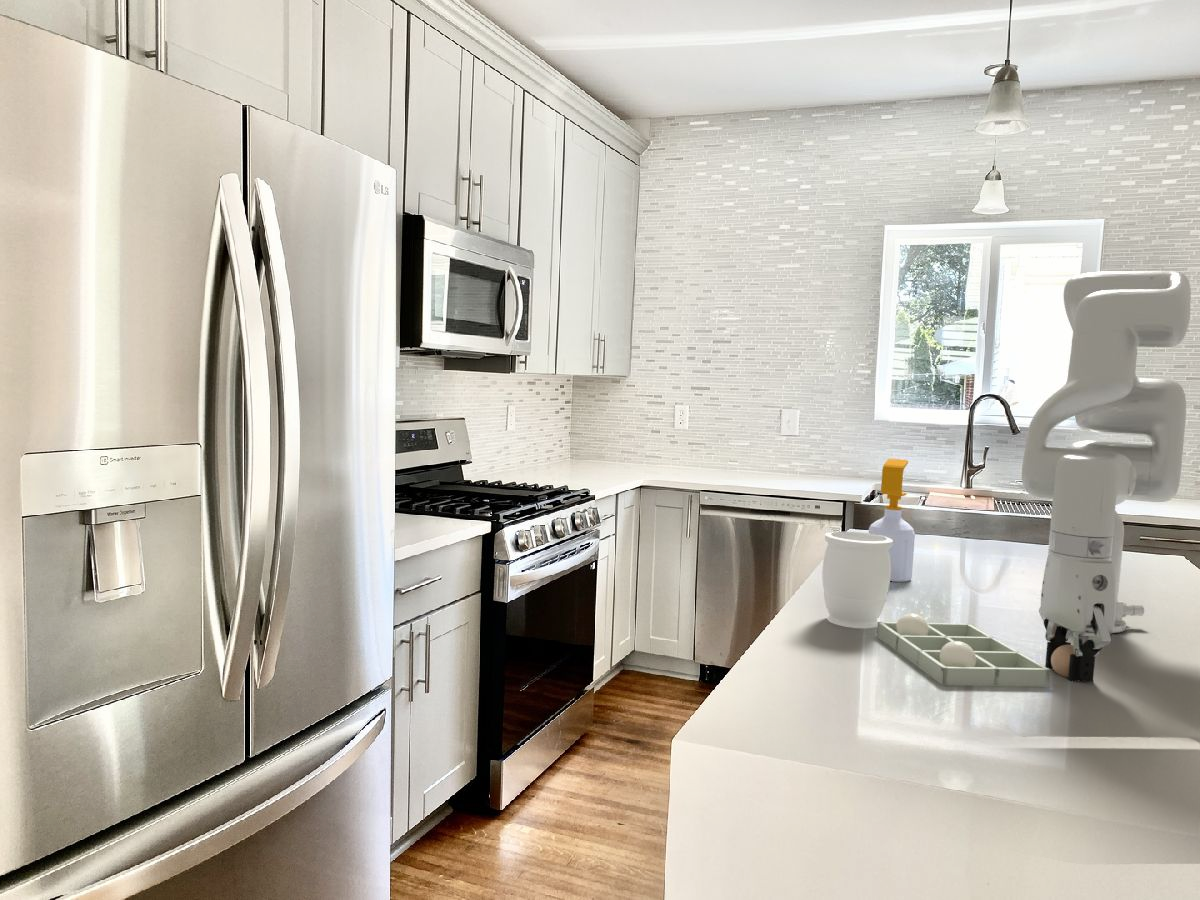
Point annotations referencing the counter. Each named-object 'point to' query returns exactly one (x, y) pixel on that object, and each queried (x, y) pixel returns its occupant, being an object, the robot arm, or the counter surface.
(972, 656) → the cream egg
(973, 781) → the counter surface
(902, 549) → the soap bottle
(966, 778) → the counter surface
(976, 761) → the counter surface
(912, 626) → the cream egg
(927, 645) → the egg tray
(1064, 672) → the brown egg
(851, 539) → the jar
